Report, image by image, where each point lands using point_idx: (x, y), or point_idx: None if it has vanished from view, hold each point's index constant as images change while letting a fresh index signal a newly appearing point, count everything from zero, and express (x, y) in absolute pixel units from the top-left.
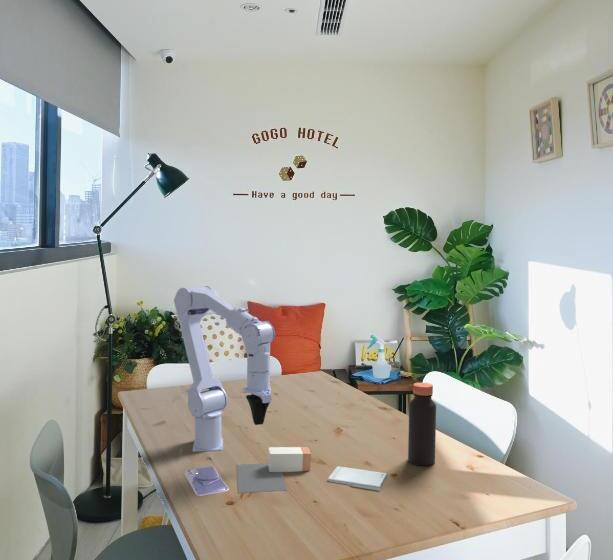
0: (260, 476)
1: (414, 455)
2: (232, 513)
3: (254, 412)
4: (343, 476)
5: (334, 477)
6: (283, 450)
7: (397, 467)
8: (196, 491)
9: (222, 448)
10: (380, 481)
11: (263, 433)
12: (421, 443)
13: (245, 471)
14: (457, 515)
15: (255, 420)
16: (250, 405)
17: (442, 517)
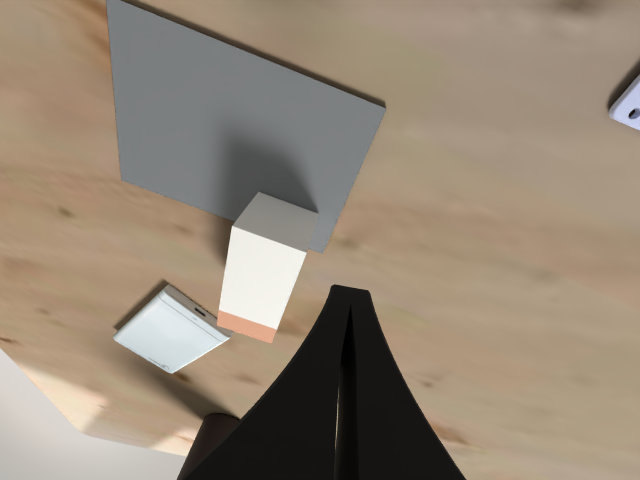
0: (238, 150)
1: (207, 431)
2: None
3: (293, 359)
4: (167, 318)
5: (165, 303)
6: (259, 279)
7: (212, 395)
8: None
9: (618, 118)
10: (132, 349)
11: (612, 327)
12: (185, 462)
13: (301, 116)
14: (31, 353)
15: (325, 307)
16: (377, 424)
17: (21, 338)
